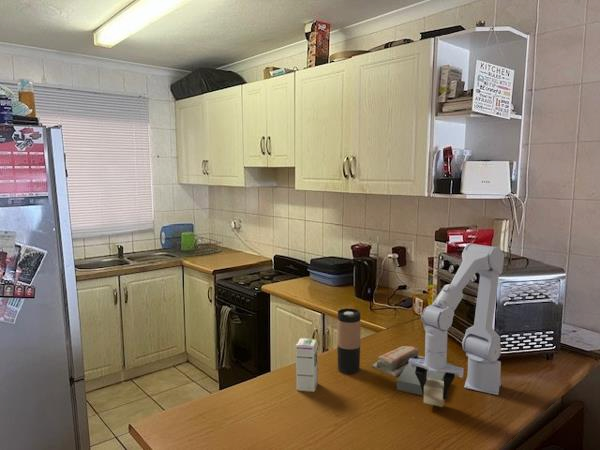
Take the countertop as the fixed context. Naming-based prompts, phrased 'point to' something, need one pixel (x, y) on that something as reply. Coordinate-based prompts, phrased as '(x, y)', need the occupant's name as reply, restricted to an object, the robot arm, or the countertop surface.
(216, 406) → the countertop surface
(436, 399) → the birch block
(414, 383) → the gray plinth
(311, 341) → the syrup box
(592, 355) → the countertop surface
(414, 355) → the packaged product
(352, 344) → the travel mug
